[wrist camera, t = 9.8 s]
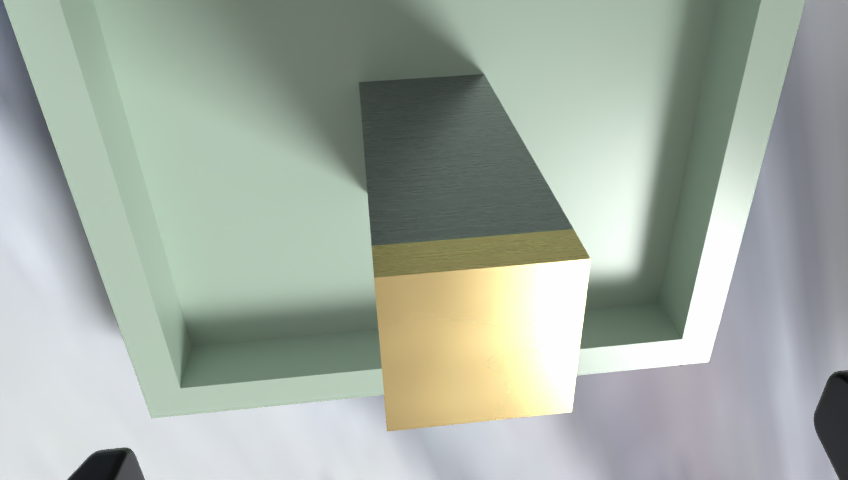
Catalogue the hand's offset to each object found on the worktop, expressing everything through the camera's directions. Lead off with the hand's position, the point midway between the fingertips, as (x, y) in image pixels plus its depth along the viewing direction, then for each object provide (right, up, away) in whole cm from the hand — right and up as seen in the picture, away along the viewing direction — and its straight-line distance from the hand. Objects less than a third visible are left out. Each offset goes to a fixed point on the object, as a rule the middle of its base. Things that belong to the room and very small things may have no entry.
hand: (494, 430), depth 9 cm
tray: (-1, +5, +9) cm, 10 cm away
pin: (-1, +5, +8) cm, 10 cm away
